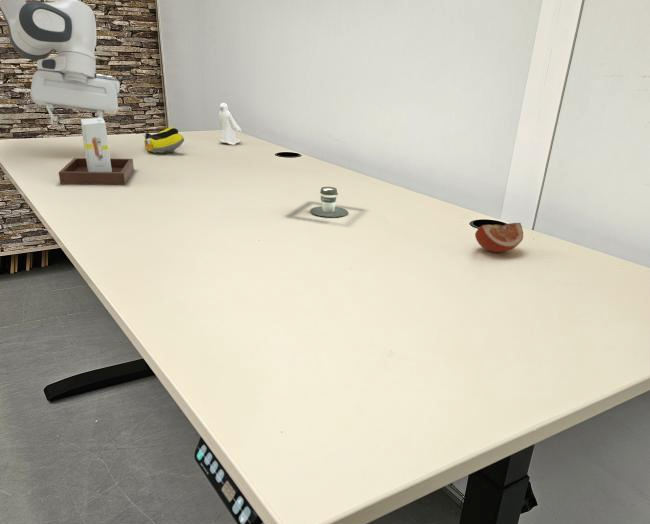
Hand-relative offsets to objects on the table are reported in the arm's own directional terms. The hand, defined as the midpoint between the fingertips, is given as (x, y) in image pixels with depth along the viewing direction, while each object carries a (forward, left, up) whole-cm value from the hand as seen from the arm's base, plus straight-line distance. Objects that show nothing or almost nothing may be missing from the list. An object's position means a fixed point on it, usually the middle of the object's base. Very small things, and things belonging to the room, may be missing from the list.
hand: (74, 126), depth 149 cm
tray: (+8, -19, -8) cm, 22 cm away
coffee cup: (+57, -48, -8) cm, 75 cm away
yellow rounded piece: (+20, +14, -8) cm, 26 cm away
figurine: (+39, +28, -8) cm, 49 cm away
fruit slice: (+83, -72, -8) cm, 110 cm away
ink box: (+8, -19, -8) cm, 22 cm away
